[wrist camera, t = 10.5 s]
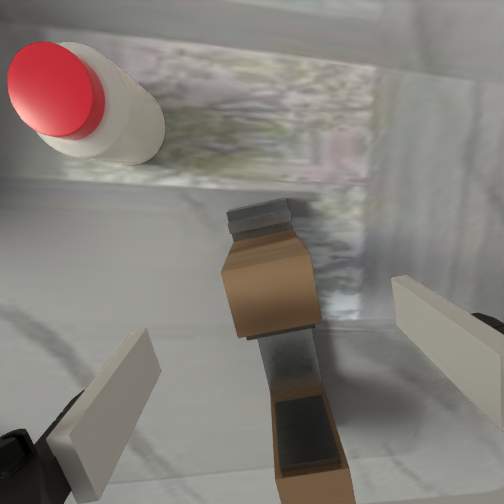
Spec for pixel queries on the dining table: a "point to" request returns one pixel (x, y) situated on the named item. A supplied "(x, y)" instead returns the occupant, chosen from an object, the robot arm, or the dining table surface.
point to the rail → (286, 346)
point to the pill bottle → (84, 103)
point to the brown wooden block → (271, 286)
